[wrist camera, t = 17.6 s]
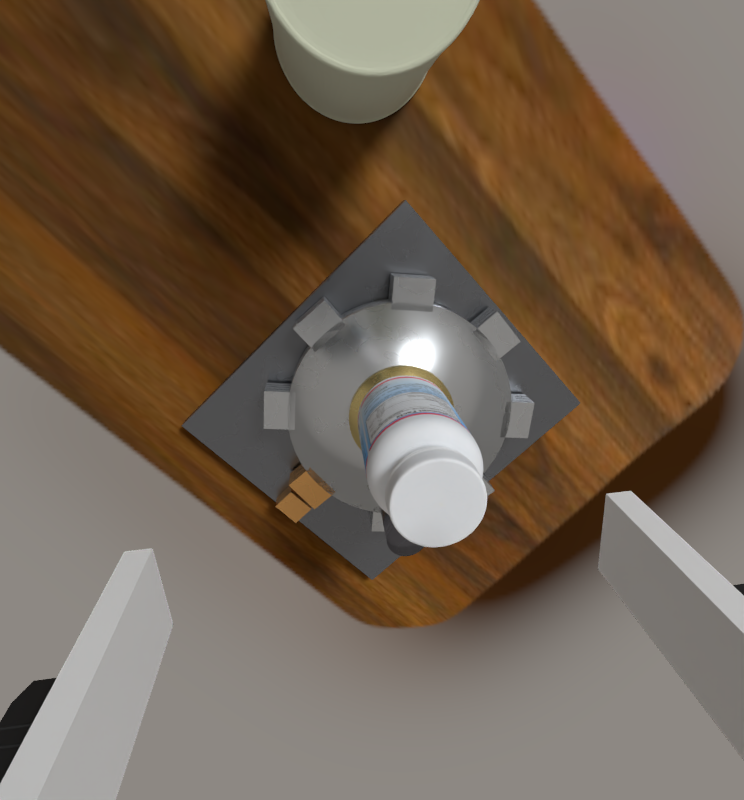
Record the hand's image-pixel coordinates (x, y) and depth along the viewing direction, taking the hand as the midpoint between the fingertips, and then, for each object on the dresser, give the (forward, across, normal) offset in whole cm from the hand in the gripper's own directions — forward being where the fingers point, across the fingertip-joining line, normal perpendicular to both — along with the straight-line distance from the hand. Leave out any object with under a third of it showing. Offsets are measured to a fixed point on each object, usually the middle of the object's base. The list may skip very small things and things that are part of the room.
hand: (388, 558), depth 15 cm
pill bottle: (+19, +3, -4) cm, 20 cm away
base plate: (+22, +3, -4) cm, 23 cm away
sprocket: (+21, +3, -4) cm, 22 cm away
